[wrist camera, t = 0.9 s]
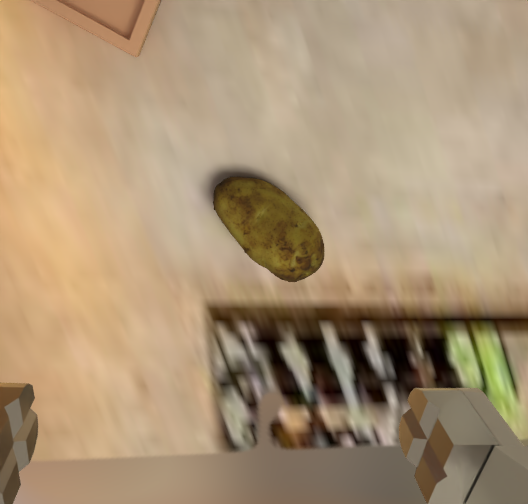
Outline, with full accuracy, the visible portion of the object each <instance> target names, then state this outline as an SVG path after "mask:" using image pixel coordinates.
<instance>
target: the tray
mask: <svg viewBox="0 0 528 504" xmlns="http://www.w3.org/2000/svg"><path fill="white" fill-rule="evenodd" d="M31 1H33V2H35V3H37V4H38V5H40V6H42V7H44V8H46V9H48V10H50V11H51V12H53V13H55V14H57V15H59V16H61V17H62V18H64V19H66V20H68V21H70V22H72V23H74V24H75V25H77V26H79V27H81V28H83V29H85V30H86V31H88V32H90V33H92V34H94V35H96V36H98V37H99V38H101V39H103V40H105V41H107V42H109V43H110V44H112V45H114V46H116V47H118V48H120V49H122V50H123V51H125V52H127V53H129V54H131V55H133V56H135V57H138V56H139V55H140V52H141V50H142V47H143V45H144V42H145V40H146V37H147V35H148V32H149V30H150V27H151V25H152V22H153V20H154V17H155V15H156V12H157V10H158V7H159V5H160V2H161V0H31Z"/></svg>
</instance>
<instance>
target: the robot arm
mask: <svg viewBox="0 0 528 504" xmlns="http://www.w3.org/2000/svg"><path fill="white" fill-rule="evenodd" d="M34 398H35V397H34V392H33V386H32V385H30V384H28V383H1V382H0V504H13V502H14V499H15V497H16V495H17V492H18V490H19V488H20V485H21V483H20V477H19V471H21V470H22V469H23V468H24V467H25V466H26V465H28V464H29V463H30V460H31V458H32V455H33V452H34V449H35V445H36V440H37V435H38V419H37V414H36V413H35V412H34V411H33V410H31V409H30V407H31V405H32V403H33V401H34ZM408 403H409V405H410V407H411V409H409V410H408V411H407V412H406V413H405V414H403V415H402V418H401V421H400V425H399V440H400V444H401V448H402V451H403V453H404V455H405V457H406V459H407V460H409V461H410V462H411V463H412V464H413V465H414V466H416V467H417V468H416V472H415V475H414V477H415V479H416V481H417V484H418V486H419V488H420V490H421V492H422V494H423V496H424V499H425V501H426V503H427V504H528V446H523V444H522V443H521V442H520V440H519V439H518V438H517V436H516V435H515V434H514V432H513V431H512V430H511V428H510V427H509V426H508V424H507V423H506V422H505V420H504V419H503V418H502V416H501V415H500V414H499V412H498V411H497V410H496V408H495V407H494V406H493V405H492V403H491V402H490V401H489V399H488V398H487V397H486V395H485V394H484V393H483V392H482V391H481V390H479V389H478V388H456V389H454V388H415V389H414V390H413V391H412V392H411V393H410V396H409V398H408Z"/></svg>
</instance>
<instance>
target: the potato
mask: <svg viewBox="0 0 528 504" xmlns="http://www.w3.org/2000/svg"><path fill="white" fill-rule="evenodd" d="M213 204H214V210H216V212H217V214H218V216H219V218H220V219H221V221H222V222H223V223H224V225H225V226H226V228H227V229H228V230H229V232H230V233H231V234H232V236H233V237H234V238H235V239H236V241H237V242H238V243H239V244H240V246H241V247H242V248H243V249H244V251H245V253H247V254H248V256H249V257H250V258H251V259H252V260H254V261H255V262H256V263H258V264H259V265H261V266H263V267H265V268H267V269H268V270H269V271H270V272H271V273H273V274H274V275H275V276H277V277H278V278H280V279H282V280H285V281H288V282H297V281H299V280H302V279H305V278H306V277H308V276H310V275H312V274H313V273H315V272H316V271H317V270H318V269H319V268H320V266H321V265H322V263H323V260H324V243H323V239H322V236H321V233H320V231H319V229H318V227H317V226H316V225H315V223H314V222H313V221H312V220H311V218H310V217H309V216H308V215H307V214H306V213H305V212H304V211H303V210H302V209H301V208H300V207H299V206H298V205H297V204H295V203H294V202H293V201H292V200H291V199H290V198H289V197H288V196H287V195H286V194H285V193H284V192H283V191H281V190H280V189H278V188H277V187H275V186H273V185H272V184H270V183H268V182H265V181H263V180H260V179H255V178H245V177H230V178H227V179H225V180H223V181H222V182H221V183H219V184H218V185H217V186H216V188H215V190H214V201H213Z"/></svg>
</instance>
